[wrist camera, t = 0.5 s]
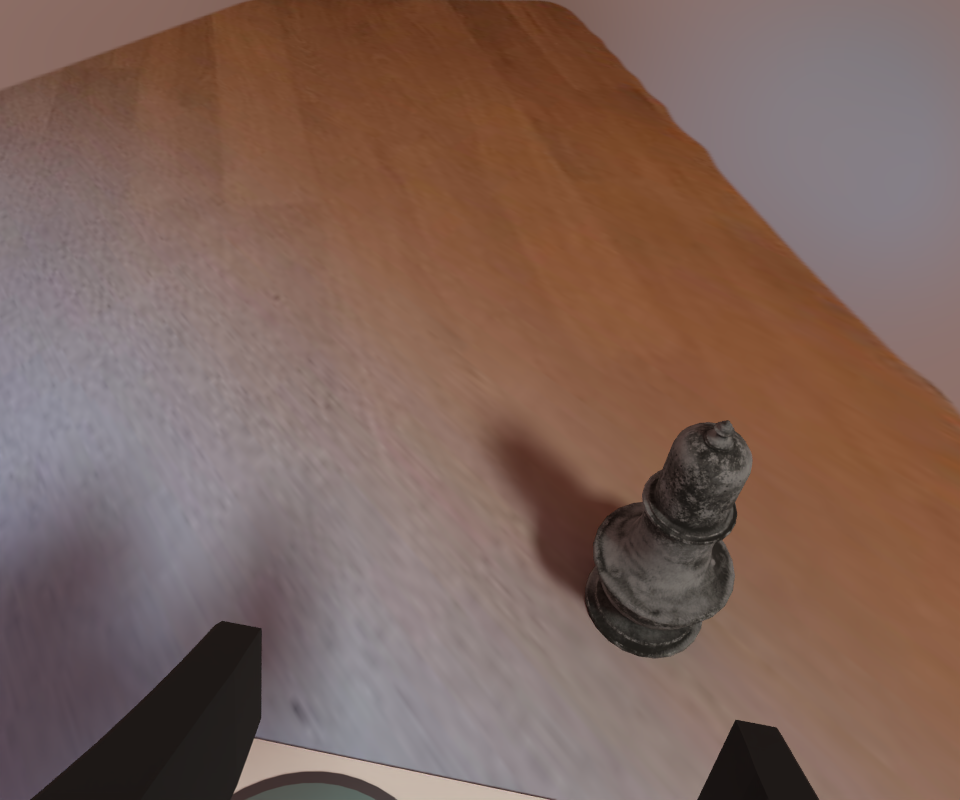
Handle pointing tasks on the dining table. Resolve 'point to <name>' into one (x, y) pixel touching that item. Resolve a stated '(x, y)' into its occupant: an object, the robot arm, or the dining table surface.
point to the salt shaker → (671, 546)
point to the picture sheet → (345, 779)
